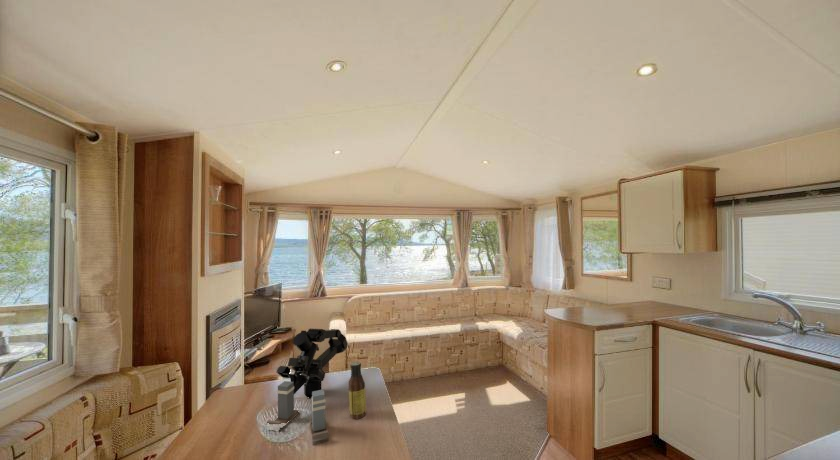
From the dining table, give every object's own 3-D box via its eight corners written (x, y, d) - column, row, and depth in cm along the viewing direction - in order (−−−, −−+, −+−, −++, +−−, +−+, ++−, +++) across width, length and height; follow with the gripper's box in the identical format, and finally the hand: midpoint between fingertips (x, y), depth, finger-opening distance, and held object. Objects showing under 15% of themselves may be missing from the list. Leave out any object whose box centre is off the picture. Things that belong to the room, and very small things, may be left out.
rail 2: (310, 425, 111) (310, 417, 112) (324, 421, 113) (324, 413, 114) (312, 445, 100) (312, 435, 101) (328, 440, 102) (328, 431, 103)
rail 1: (287, 411, 121) (287, 404, 121) (298, 412, 120) (298, 405, 120) (266, 430, 109) (266, 421, 109) (279, 431, 108) (278, 423, 108)
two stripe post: (312, 425, 109) (311, 391, 110) (324, 422, 111) (324, 389, 112) (312, 432, 106) (312, 397, 106) (325, 428, 107) (325, 394, 108)
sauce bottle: (369, 412, 119) (368, 361, 119) (359, 421, 113) (358, 367, 114) (355, 409, 122) (354, 359, 122) (345, 417, 116) (344, 365, 117)
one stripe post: (284, 412, 118) (284, 380, 119) (294, 413, 117) (294, 381, 118) (277, 418, 114) (277, 386, 115) (287, 419, 113) (287, 387, 114)
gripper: (278, 346, 127) (260, 386, 116) (319, 349, 123) (304, 390, 112) (290, 358, 134) (274, 396, 123) (329, 360, 131) (315, 400, 119)
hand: (291, 395), depth 119 cm, fingers closed
